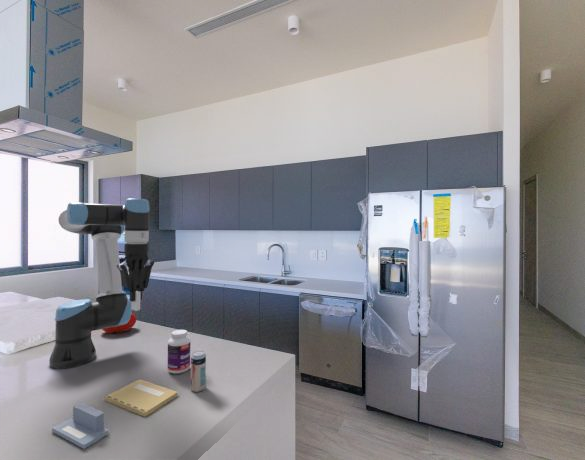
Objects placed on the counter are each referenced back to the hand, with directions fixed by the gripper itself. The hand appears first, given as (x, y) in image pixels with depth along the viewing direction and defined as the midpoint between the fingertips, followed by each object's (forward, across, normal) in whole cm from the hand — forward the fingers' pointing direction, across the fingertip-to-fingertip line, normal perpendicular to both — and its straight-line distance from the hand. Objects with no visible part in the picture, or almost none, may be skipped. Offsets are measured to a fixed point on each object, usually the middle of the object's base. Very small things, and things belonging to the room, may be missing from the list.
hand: (135, 309), depth 105 cm
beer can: (+25, +6, -24) cm, 35 cm away
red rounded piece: (+26, +28, +52) cm, 65 cm away
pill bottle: (+25, +12, -8) cm, 29 cm away
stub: (+24, -25, -13) cm, 37 cm away
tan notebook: (+25, -6, -12) cm, 28 cm away
